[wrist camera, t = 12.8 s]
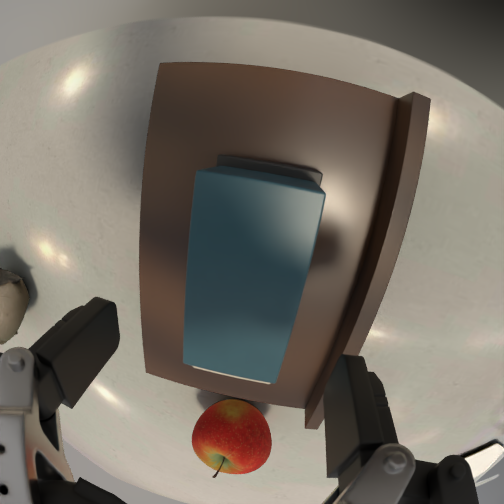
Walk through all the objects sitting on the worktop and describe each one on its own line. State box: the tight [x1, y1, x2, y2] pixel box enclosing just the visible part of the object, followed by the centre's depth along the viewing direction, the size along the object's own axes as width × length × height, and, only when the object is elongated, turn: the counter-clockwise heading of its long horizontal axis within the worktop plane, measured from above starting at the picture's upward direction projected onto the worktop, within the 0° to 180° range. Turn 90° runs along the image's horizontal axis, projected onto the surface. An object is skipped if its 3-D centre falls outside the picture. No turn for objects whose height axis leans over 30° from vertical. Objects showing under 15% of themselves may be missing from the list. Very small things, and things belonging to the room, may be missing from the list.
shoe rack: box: [139, 62, 431, 429], centre depth 18 cm, size 22×14×8 cm, turn 171°
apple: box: [192, 399, 272, 478], centre depth 24 cm, size 8×8×10 cm
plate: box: [464, 443, 504, 479], centre depth 33 cm, size 28×28×2 cm
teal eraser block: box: [183, 155, 326, 384], centre depth 13 cm, size 12×5×5 cm, turn 171°
